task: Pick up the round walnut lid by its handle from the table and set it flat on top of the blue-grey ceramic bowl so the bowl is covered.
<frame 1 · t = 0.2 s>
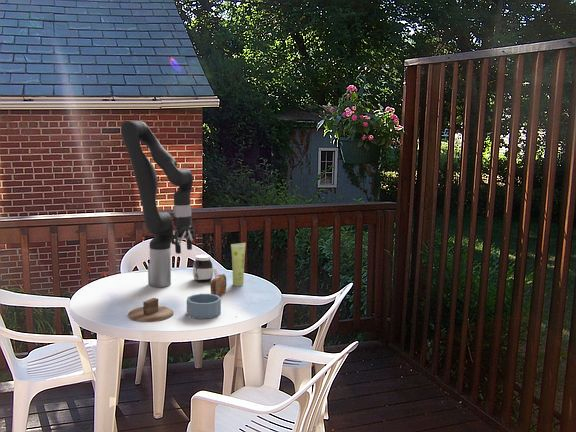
hand: (183, 251, 258), 17 cm above the table, tool pointing down, fingers open, 8 cm apart
lid: (151, 315, 227), on the table
spread jar: (207, 280, 276), on the table
tin: (218, 295, 254), on the table
bowl: (203, 313, 230), on the table
tube: (237, 285, 270), on the table
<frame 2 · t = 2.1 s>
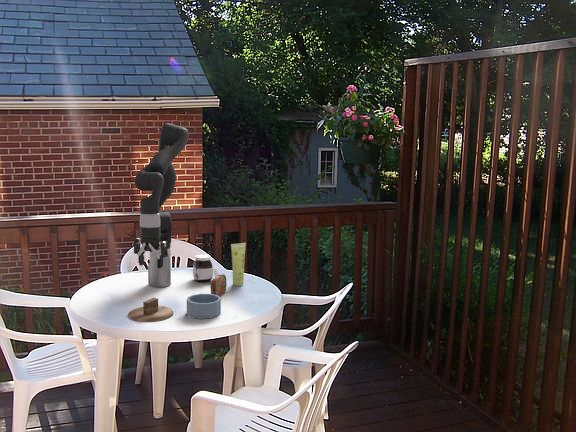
hand: (150, 266, 224), 19 cm above the table, tool pointing down, fingers open, 8 cm apart
nothing on the table moved.
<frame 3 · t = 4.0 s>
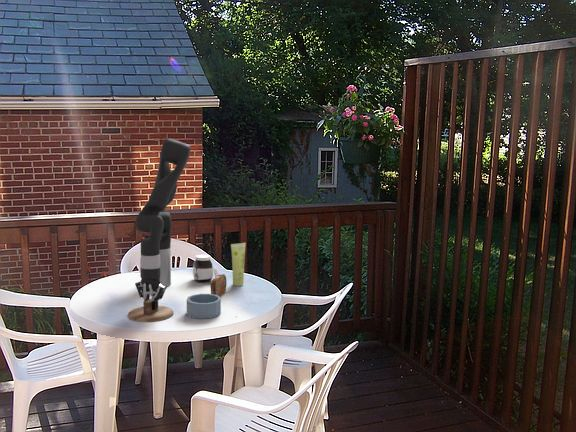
hand: (151, 309, 227), 2 cm above the table, tool pointing down, fingers closed on lid, 2 cm apart
lid: (151, 315, 227), on the table, touching gripper
everything else where it was.
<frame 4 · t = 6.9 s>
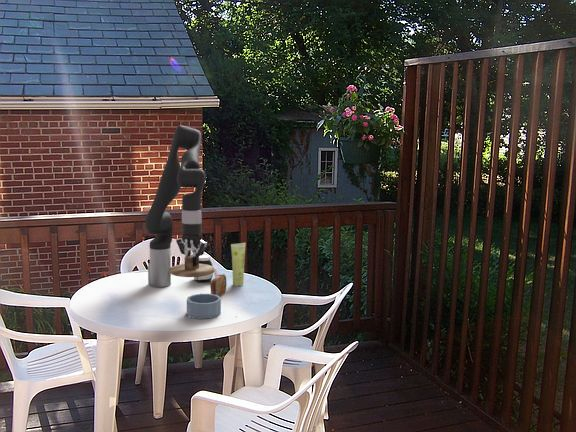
hand: (192, 265, 226), 19 cm above the table, tool pointing down, fingers closed on lid, 2 cm apart
lid: (191, 271, 226), point 17 cm above the table, touching gripper
everything else where it was.
when the fingers open (10 cm above the table, at t = 9.3 s): lid drops 1 cm, resting on bowl.
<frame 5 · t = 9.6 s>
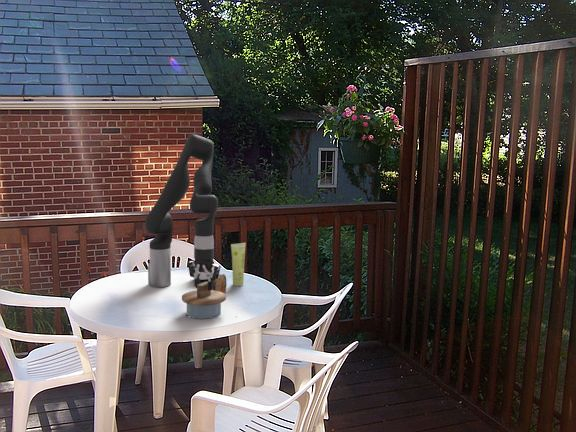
hand: (203, 288, 228), 10 cm above the table, tool pointing down, fingers open, 5 cm apart
lid: (203, 298, 229), point 6 cm above the table, touching bowl
everything else where it was.
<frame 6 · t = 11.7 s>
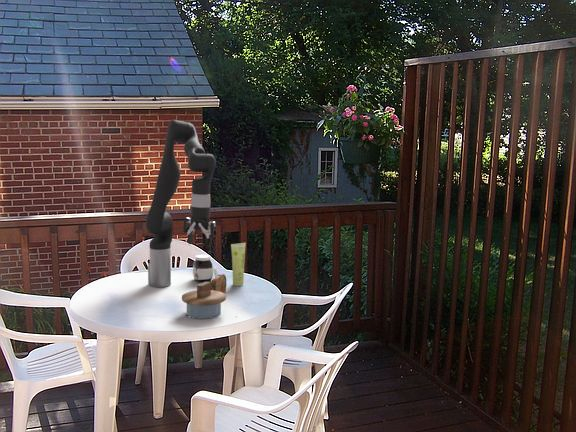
hand: (199, 245, 232), 26 cm above the table, tool pointing down, fingers open, 8 cm apart
nothing on the table moved.
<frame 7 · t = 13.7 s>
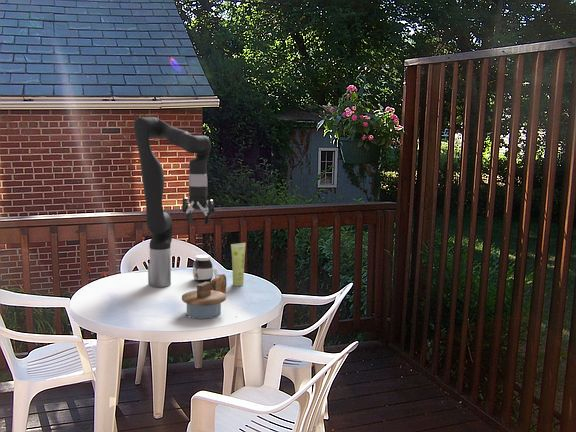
hand: (198, 223, 243), 32 cm above the table, tool pointing down, fingers open, 8 cm apart
nothing on the table moved.
at the end: lid 0.0 cm off-centre on the bowl, point 6.0 cm above the bowl's base; lid tilted 0°; the gripper is holding nothing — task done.
